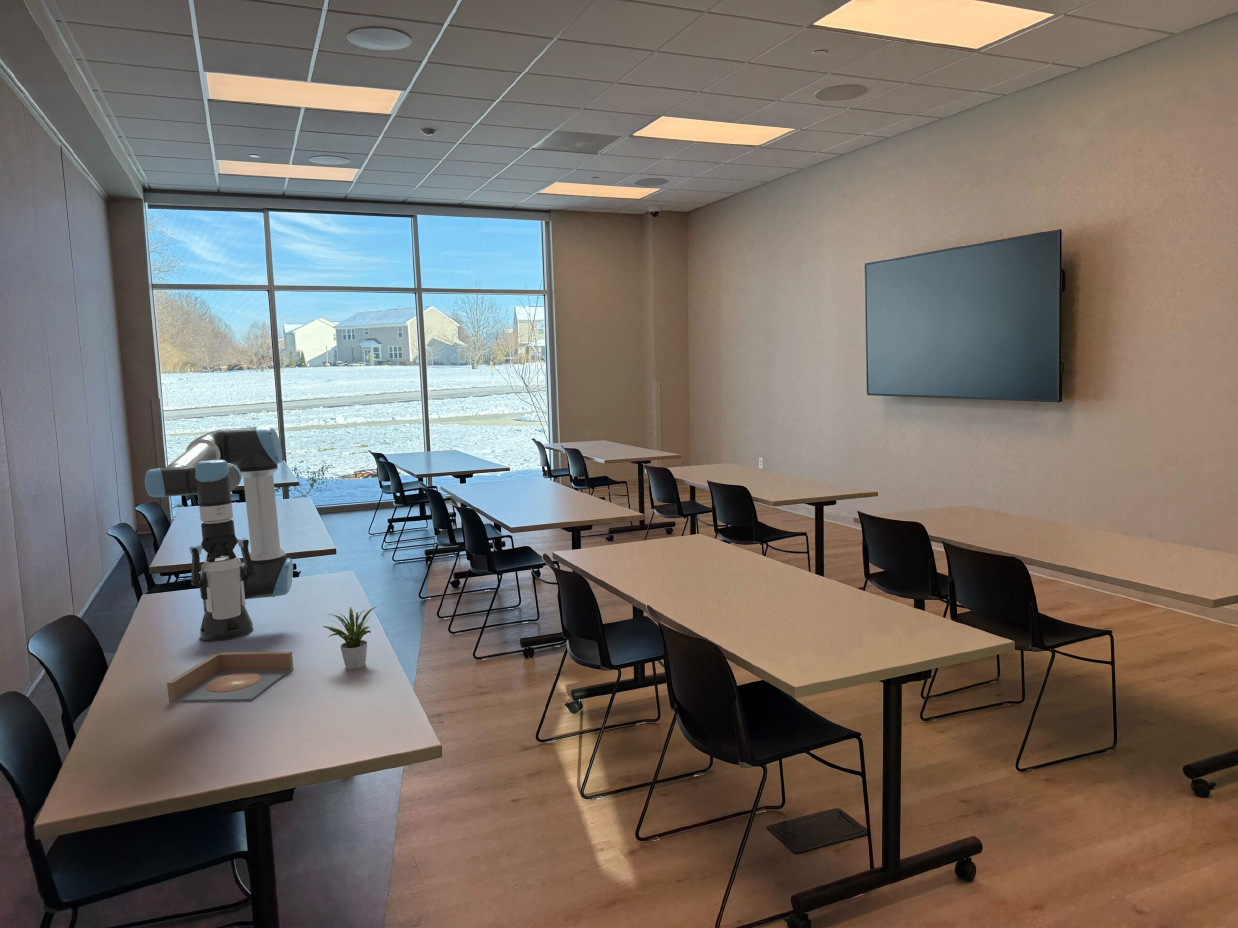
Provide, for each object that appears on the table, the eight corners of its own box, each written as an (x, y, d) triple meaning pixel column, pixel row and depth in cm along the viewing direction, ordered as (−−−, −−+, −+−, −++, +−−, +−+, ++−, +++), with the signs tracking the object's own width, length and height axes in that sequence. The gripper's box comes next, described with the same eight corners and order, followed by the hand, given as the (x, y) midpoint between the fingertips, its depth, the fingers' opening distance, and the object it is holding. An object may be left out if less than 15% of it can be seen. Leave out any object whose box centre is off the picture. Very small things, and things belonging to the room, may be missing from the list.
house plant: (363, 652, 234) (359, 596, 232) (395, 660, 226) (390, 602, 224) (320, 668, 223) (315, 610, 221) (352, 677, 215) (346, 617, 213)
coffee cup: (205, 623, 205) (198, 565, 203) (207, 613, 214) (201, 557, 212) (246, 617, 209) (240, 560, 207) (247, 607, 217) (241, 553, 216)
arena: (218, 670, 225) (216, 652, 224) (293, 668, 223) (291, 651, 222) (169, 702, 203) (166, 682, 203) (251, 700, 201) (249, 681, 201)
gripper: (177, 528, 199) (187, 619, 202) (262, 516, 212) (271, 601, 215) (170, 525, 205) (179, 613, 207) (254, 513, 218) (262, 596, 220)
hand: (226, 607), depth 211 cm, fingers closed on coffee cup, 7 cm apart
